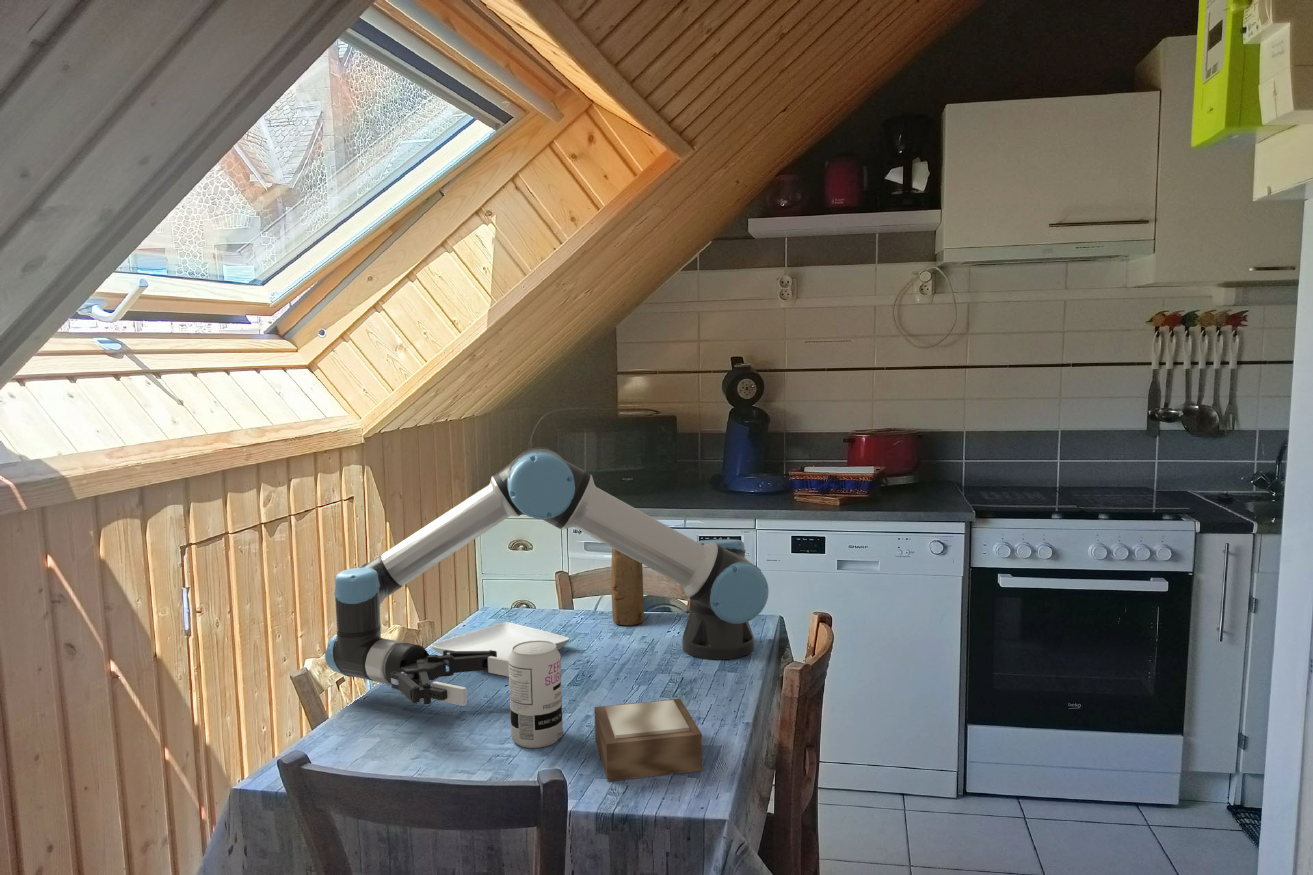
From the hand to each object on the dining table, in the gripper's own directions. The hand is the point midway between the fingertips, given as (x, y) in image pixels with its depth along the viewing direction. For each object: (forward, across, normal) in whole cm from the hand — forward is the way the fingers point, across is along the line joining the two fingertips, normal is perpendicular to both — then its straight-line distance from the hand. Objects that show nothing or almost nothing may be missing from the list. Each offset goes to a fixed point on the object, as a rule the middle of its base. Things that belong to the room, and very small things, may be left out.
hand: (493, 682), depth 140 cm
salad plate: (-24, -31, -8) cm, 40 cm away
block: (-12, -63, -8) cm, 65 cm away
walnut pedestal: (+27, -3, -8) cm, 28 cm away
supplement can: (+8, 0, -8) cm, 12 cm away
